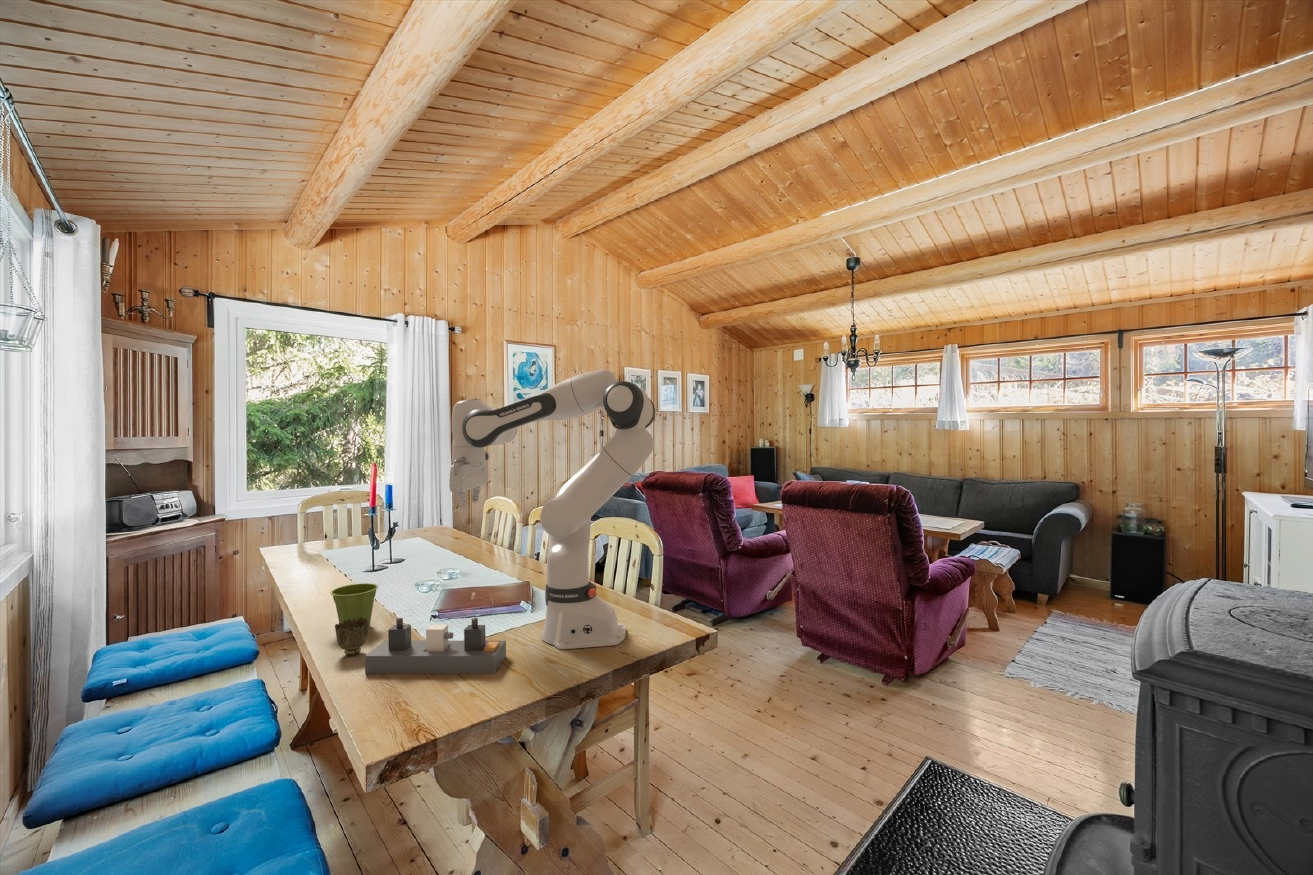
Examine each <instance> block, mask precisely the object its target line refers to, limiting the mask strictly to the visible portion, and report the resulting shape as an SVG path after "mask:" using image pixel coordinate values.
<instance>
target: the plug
mask: <svg viewBox="0 0 1313 875" xmlns="http://www.w3.org/2000/svg"><path fill="white" fill-rule="evenodd" d="M453 638H454V632H449V625H448V624H431V625H429V626H428V627H427V628H426V629H425V641H426V652H445V651H446V650H447V649H448V641H449V639H451V640H453Z"/></svg>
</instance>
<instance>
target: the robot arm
mask: <svg viewBox="0 0 1313 875" xmlns="http://www.w3.org/2000/svg"><path fill="white" fill-rule="evenodd" d="M599 410H600V411H601V410H605V413H606V415H607V417H608V419H609V421H610V423H611V424H612V426H613V428H614V429H615V430H616V431H615V433H614V434H613V436H612V437H611V438H610V439H609V440H608V441H607V442H606V443H605V444H604V445H603V446H602V447H601V448H600V449H599V450H598V451H597V452H596V453H595V454H594V455H593V456H592V457H591V458H590V459H589V460H588V461H587V462H586V463H585V464H584V465H583V466H582V467H581V468H580V469H578V471H577V472H575V474H573V475H572V476H571V477H570V478H569V479H568V480H567V481H566V482H565V483H564V484H562V486H560V488H559V489H557V490H556V492H554V493H553V494H552V495H551V496H550V497H549V498H548V499H547V500H546V501H545V503H544V504H543V506H542V508H541V510H540V515H539V516H540V517H539V521H540V525H541V527H542V529H543V530H544V532H546V533H547V534H548V535H549V542H548V548H547V553H546V581H547V582H546V584H545V589H544V598H545V606H546V612H545V621H544V625H543V629H542V630H543V631H542V634H541V639H542V641H544V642H546V643H547V644H550V645H553V646H554V647H556V648H557V649H559V650H570V649H583V648H594V647H596V648H598V647H610V646H617V645H619V644H621V643H622V642H623V641H624V640H625V638H626V635H627V631H626V630H627V629H626V626H625V624H623V623H621V622H619V621H618V617H617V612H616V610H615V608H614V606H612V605H610V604H609V603H607V602H606V601H605V600H603V599H602V598H600V597H599V596H598V595H597V584H596V582H594V583H592V582H591V581H590V578H589V576H590V575H589V571H590V570H589V564H590V563H589V552H590V551H589V550H590V541H591V540H590V539H591V538H590V537H591V525H592V520H591V519H592V517H593V516H594V515H595V514H596V513H597V512H598V511H599V510H601V508H602V507H603V505H605V504H606V503H607V502H608V501H609V500H610V499H611V498H612V496H614V495H615V494H616V493H617V492H618V491H619V490H620V489H621V488H622V487H623V486H624V485H625V484H626V483H627V482H628V481H629V480H630V479H631V478H632V477H633V476H634V475H635V474H636V473H637V472H638V471H639V469H641V467H642V466H643V464H645V462H646V461H647V460H648V458H650V455H651V454H652V453H653V451H654V449H655V441H654V439H653V436H652V434H650V432H649V431H648V430H647V428H649V427H650V426H651V425H652V423H653V422H654V420H655V416H656V407H655V405H654V402H653V401H652V400H651V398H650V396H648V393H646V391H644V390H643V389H642V388H640V387H639V386H638V385H637V384H635V383H633V382H632V381H631V382H630V381H627V380H620V381H618V380H617V378H616V376H615V375H614V373H613V372H611V371H610V370H608V369H606V368H600V369H595V370H590V371H586V372H582V373H579V374H576V375H574V376H571V377H568V378H566V379H564V380H561V381H560V382H558V383H556V384H554V385H552V386H549V387H548V388H547V389H544V390H543V391H540V392H539V393H536V394H533V396H530V397H528V398H525V399H522V400H520V401H517V402H514V403H511V404H507V405H505V406H503V407H499V408H494V407H491V406H489V405H487V404H486V403H484V402H483V400H481V399H478V398H472V399H463V400H460V401H457V402H456V403H455V404H454V406H453V409H452V414H451V433H452V437H453V439H452V444H451V458H452V460H451V462H452V463H453V464H452V465H451V466H450V470H449V490H450V492H451V493H456V496H457V500H458V507H459V508H466V507H467V506H468V500H467V497H466V495H467V491H469V490H471V491H472V493H471V499H470V500H471V503H477V502H479V501H480V493H481V489H482V488H481V486H484V485H486V484H487V479H488V461H489V460H490V454H489V453H488V451H486V449H485V448H486V447H488V446H498V445H506V444H507V443H510V442H511V441H512V440H513V439H514V438H515V437H516V435H517V433H518V428H519V427H523V426H525V425H528V424H531V423H534V422H541V421H567V420H573V419H576V418H580V417H584V416H587V415H589V414H592V413H594V412H597V411H599Z"/></svg>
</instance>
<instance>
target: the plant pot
mask: <svg viewBox="0 0 1313 875" xmlns="http://www.w3.org/2000/svg"><path fill="white" fill-rule="evenodd" d="M378 589H379V585H378V584H376V583H362V582H361V583H354V584H353V583H352V584H347V585H342V586H339V587H337V588H334V589H332V590H331V591H330V595H331V596H332V598H333V603H335V609H336V613H337V618H338V623H339V622H341V623H343V621H344V620H346V621H347V620H348V619H350V620H351V621H352V620H353V618H356V620H358V619H359V618H360V617H362V618H364V619H365V618H366V619H367V622H368V620H369V624H368V628H369V627H370V626H371V621H372V614H373V606H374V602H375V598H376V593H377V590H378ZM352 622H353V621H352Z"/></svg>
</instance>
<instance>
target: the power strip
mask: <svg viewBox="0 0 1313 875" xmlns="http://www.w3.org/2000/svg"><path fill="white" fill-rule="evenodd" d="M478 618H479V617H473V618H471V624H468V625H467V626H466V627H465V628H464V630H463V637H464V638H463V640H448V649H447V650H446V651H445V652H426V640H412V624H404V620H403V619H404V618H403V617H398V618H396V619H395V620H396V622H395V623H396V624H394V625H392V626H391V627H390V628H388V629H387V632H388V634H387V635H388V636H387V640H384V641H383V642H381V643H380V644H378V645H376V647H375V648H373V649H372V650H370V651H369V652H368V653H366V655H364V669H365V670H364V673H365V674H496V672H497V670H498V669H499V668H500V667H501V665H502V663H503V662H504V660H505V659H506V658H507V641H506V640H486V624H479V622H478V621H479V619H478Z"/></svg>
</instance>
